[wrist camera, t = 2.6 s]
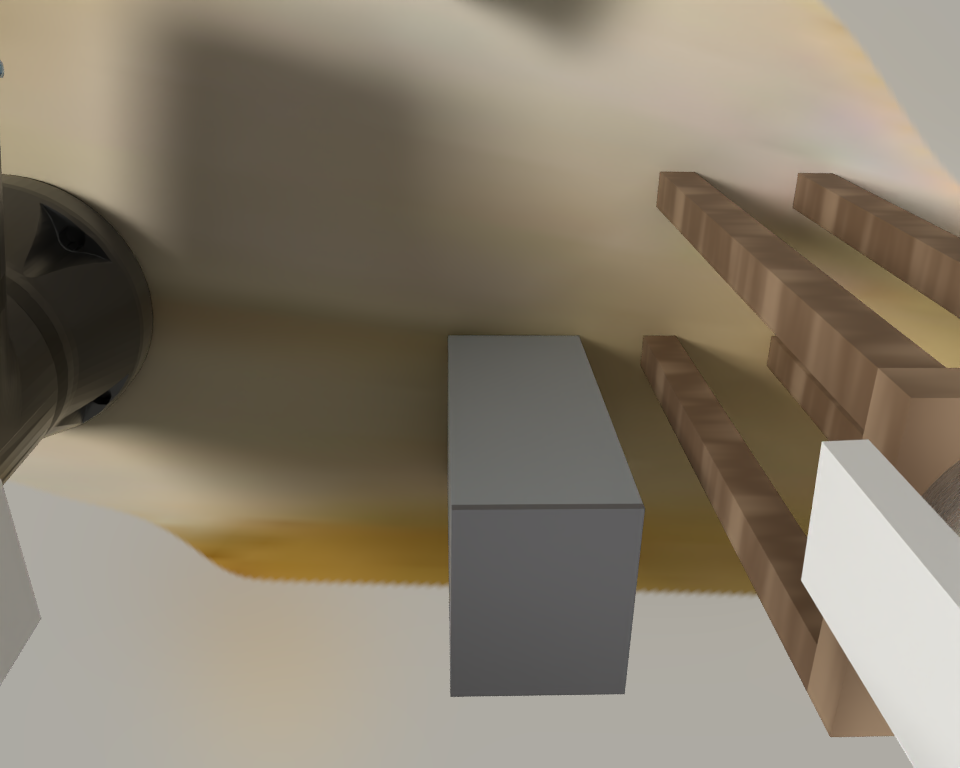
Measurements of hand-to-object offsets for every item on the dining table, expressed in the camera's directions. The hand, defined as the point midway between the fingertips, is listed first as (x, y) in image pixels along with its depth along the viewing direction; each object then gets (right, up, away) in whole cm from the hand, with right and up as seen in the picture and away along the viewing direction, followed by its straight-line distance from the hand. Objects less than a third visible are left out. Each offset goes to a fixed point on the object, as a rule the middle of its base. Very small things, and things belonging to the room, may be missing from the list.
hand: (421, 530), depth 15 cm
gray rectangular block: (+3, +1, +42) cm, 42 cm away
